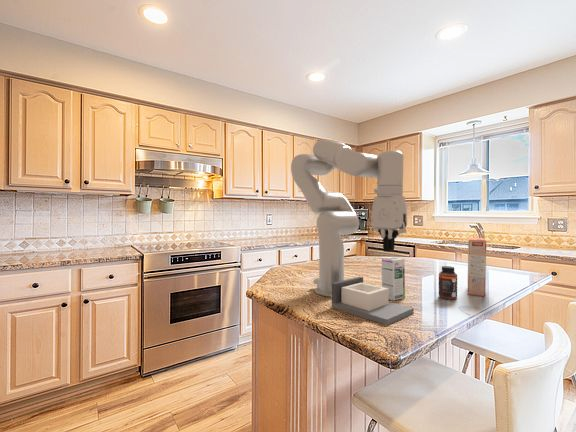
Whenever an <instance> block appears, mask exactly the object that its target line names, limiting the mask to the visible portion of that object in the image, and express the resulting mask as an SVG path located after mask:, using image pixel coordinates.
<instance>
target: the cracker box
mask: <svg viewBox="0 0 576 432" xmlns="http://www.w3.org/2000/svg"><path fill="white" fill-rule="evenodd" d="M467 247H468V249H467V295H469V296H477V297H486V284H487V283H486V282H487V281H486V280H487V278H486V277H487V276H486V275H487V272H486V271H487V240H486V238H484V237H468V246H467Z"/></svg>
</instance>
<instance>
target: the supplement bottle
mask: <svg viewBox="0 0 576 432" xmlns="http://www.w3.org/2000/svg"><path fill="white" fill-rule="evenodd" d="M438 296H439V298H441V299H444V300H453V301H454V300H457V298H458V274H457V273H456V272H455V267H454V266H450V265H444V266H443V265H442V266H441V271H440V272H439V273H438Z"/></svg>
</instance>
